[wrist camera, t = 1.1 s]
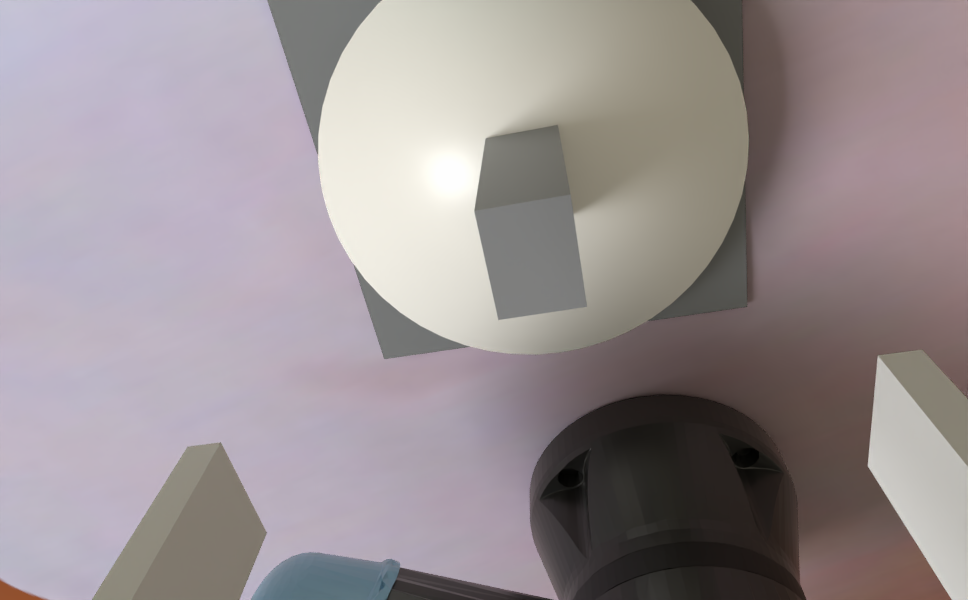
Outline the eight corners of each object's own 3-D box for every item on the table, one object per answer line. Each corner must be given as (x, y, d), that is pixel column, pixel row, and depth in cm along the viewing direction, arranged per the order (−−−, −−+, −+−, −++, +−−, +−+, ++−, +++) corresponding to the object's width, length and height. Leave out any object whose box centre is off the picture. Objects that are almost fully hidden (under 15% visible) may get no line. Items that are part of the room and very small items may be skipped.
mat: (744, 302, 35) (747, 306, 34) (385, 355, 37) (384, 359, 37) (736, -131, 26) (739, -132, 25) (263, -23, 28) (260, -22, 28)
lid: (736, 299, 34) (816, 440, 25) (390, 350, 36) (347, 494, 27) (726, -114, 26) (841, -131, 16) (275, -12, 28) (157, 23, 19)
